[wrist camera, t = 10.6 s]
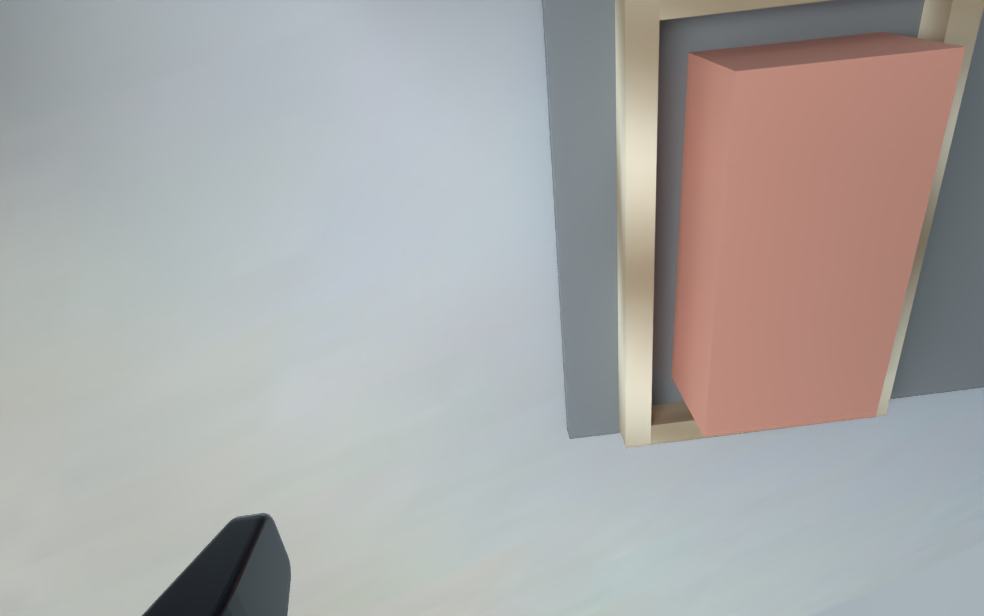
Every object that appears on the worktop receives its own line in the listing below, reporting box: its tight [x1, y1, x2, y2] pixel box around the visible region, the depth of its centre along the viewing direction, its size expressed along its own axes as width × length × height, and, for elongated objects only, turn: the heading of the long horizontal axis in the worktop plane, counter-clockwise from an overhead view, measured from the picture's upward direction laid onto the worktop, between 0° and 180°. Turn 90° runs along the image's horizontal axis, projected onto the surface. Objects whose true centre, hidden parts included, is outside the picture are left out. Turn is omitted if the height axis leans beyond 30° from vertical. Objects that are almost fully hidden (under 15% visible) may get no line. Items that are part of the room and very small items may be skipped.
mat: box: [542, 0, 984, 439], centre depth 19 cm, size 17×23×1 cm
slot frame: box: [615, 0, 984, 448], centre depth 19 cm, size 14×9×1 cm, turn 6°
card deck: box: [671, 32, 966, 437], centre depth 18 cm, size 5×10×3 cm, turn 5°
